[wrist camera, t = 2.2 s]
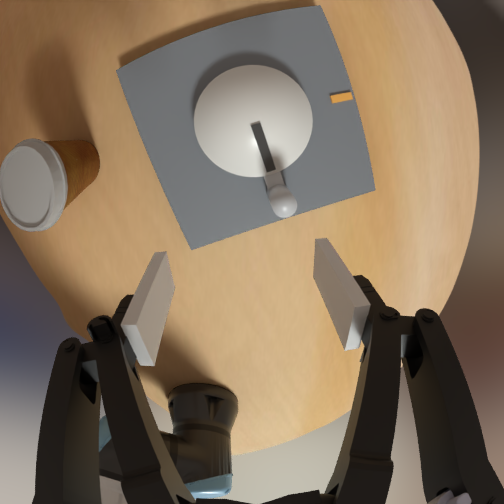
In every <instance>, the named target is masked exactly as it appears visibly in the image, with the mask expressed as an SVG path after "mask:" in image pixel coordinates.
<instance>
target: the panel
mask: <svg viewBox="0 0 504 504" xmlns="http://www.w3.org/2000/svg"><path fill="white" fill-rule="evenodd" d="M245 65H261V66H267V67H271V68H274V69H277V70H279V71H281V72H283V73H285V74H286V75H288V76H289V77H291V78H292V79H293V80H294V81H295V82H296V83H297V84H298V85H299V86H300V87H301V88H302V90H303V91H304V93H305V95H306V96H307V98H308V101H309V103H310V106H311V110H312V118H313V124H312V132H311V136H310V139H309V142H308V144H307V146H306V148H305V149H304V151H303V152H302V154H301V155H300V156H299V157H298V159H297V160H295V161H294V162H293V163H292V164H291V165H289V166H288V167H287V168H285V169H283V170H281V171H280V172H281V175H282V179H283V182H284V184H285V185H286V187H287V188H288V189H289V191H290V192H291V194H292V195H293V196H294V198H295V199H296V201H297V209H296V211H295V213H294V214H293V215H292V216H295V215H298V214H301V213H304V212H307V211H310V210H314V209H317V208H320V207H323V206H326V205H329V204H333V203H336V202H339V201H342V200H345V199H349V198H352V197H355V196H358V195H362V194H365V193H368V192H371V191H375V184H374V178H373V173H372V168H371V162H370V157H369V153H368V148H367V143H366V139H365V135H364V130H363V126H362V122H361V118H360V115H359V111H358V107H357V104H356V100H355V97H354V93H353V90H352V87H351V83H350V80H349V77H348V74H347V71H346V68H345V65H344V62H343V60H342V57H341V54H340V51H339V49H338V46H337V43H336V41H335V38H334V36H333V33H332V31H331V28H330V26H329V24H328V21H327V19H326V17H325V15H324V12H323V10H322V8H321V6H320V5H319V6H309V7H301V8H294V9H287V10H281V11H275V12H270V13H265V14H261V15H256V16H252V17H248V18H244V19H240V20H236V21H232V22H229V23H225V24H222V25H219V26H216V27H212V28H209V29H206V30H204V31H201V32H198V33H195V34H192V35H190V36H187V37H185V38H182V39H179V40H177V41H175V42H172V43H170V44H167V45H165V46H163V47H161V48H158V49H156V50H154V51H152V52H150V53H148V54H146V55H144V56H142V57H140V58H138V59H136V60H134V61H132V62H130V63H128V64H126V65H125V66H123V67H121V68H119V69H117V70H116V72H117V75H118V78H119V81H120V83H121V86H122V89H123V92H124V94H125V97H126V100H127V102H128V105H129V108H130V110H131V113H132V116H133V118H134V121H135V123H136V126H137V128H138V131H139V133H140V136H141V138H142V141H143V143H144V146H145V148H146V151H147V153H148V155H149V158H150V160H151V162H152V165H153V167H154V170H155V172H156V174H157V176H158V179H159V181H160V183H161V186H162V188H163V190H164V192H165V195H166V197H167V199H168V201H169V204H170V206H171V208H172V210H173V212H174V214H175V217H176V219H177V221H178V223H179V225H180V227H181V229H182V232H183V234H184V236H185V238H186V240H187V242H188V244H189V246H190V248H191V250H193V249H196V248H199V247H202V246H205V245H208V244H211V243H214V242H217V241H220V240H222V239H225V238H228V237H231V236H234V235H237V234H240V233H243V232H246V231H249V230H252V229H255V228H258V227H261V226H264V225H267V224H270V223H273V222H276V221H279V220H282V219H286V218H282V217H279V216H277V215H276V214H275V213H274V211H273V209H272V206H271V204H270V201H269V199H268V196H267V185H266V182H265V179H264V176H262V177H244V176H239V175H235V174H232V173H230V172H227V171H225V170H223V169H222V168H220V167H219V166H217V165H216V164H214V163H213V162H212V161H211V160H210V159H209V158H208V157H207V156H206V154H205V153H204V152H203V150H202V148H201V147H200V145H199V143H198V140H197V137H196V134H195V129H194V113H195V108H196V104H197V102H198V99H199V97H200V95H201V94H202V92H203V90H204V89H205V88H206V87H207V85H208V84H209V83H210V82H211V81H212V80H213V79H214V78H216V77H217V76H219V75H220V74H222V73H224V72H225V71H227V70H230V69H232V68H235V67H239V66H245ZM292 216H290V217H292ZM287 218H289V217H287Z"/></svg>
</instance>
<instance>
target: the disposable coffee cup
mask: <svg viewBox="0 0 504 504" xmlns="http://www.w3.org/2000/svg"><path fill="white" fill-rule="evenodd" d="M99 168H100V160H99V156H98V153H97V151H96V149H95V147H94V146H93V145H92V144H91V143H89V142H87V141H84V140H74V141H44V142H43V141H41V140H39V139H27V140H23V141H22V142H20V143H18V144H17V145H16V146H15V147H14V148H13V149H12V151H11V152H10V153H9V154H7V156H6V157H5V159H4V161H3V163H2V165H1V169H0V199H1V203H2V206H3V208H4V211H5V213H6V214H7V216H8V217H9V219H10V220H11V221H12V222H13V223H14V224H15V225H16V226H17V227H19V228H20V229H22V230H25V231H29V232H32V231H43V230H46V229H48V228H50V227H52V226H53V225H54V224H55V223H56V222H57V220H58V219H59V218H60V216H61V214H62V212H63V210H64V209H65V208H66V207H67V206H68V205H69V204H70V203H71V202H72V201H73V200H74V199H75V198H76V197H77V196H78V195H79V194H80V193H81V192H82V191H83V190H84V189H85V188H86V187H87V186H88V185H90V184H91V183H92V182H93V181H94V180H95V178H96V177H97V175H98V172H99Z"/></svg>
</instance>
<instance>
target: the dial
mask: <svg viewBox="0 0 504 504" xmlns="http://www.w3.org/2000/svg"><path fill="white" fill-rule="evenodd" d="M312 124H313V118H312V110H311V106H310V103H309V101H308V98H307V96H306V95H305V93H304V91H303V90H302V88H301V87H300V86H299V85H298V84H297V83H296V82H295V81H294V80H293V79H292V78H291V77H289V76H288V75H286V74H285V73H283V72H281V71H279V70H277V69H274V68H271V67H267V66H261V65H245V66H239V67H235V68H232V69H230V70H227V71H225V72H224V73H222V74H220V75H219V76H217V77H216V78H214V79H213V80H212V81H211V82H210V83H209V84H208V85H207V87H206V88H205V89H204V90H203V92H202V94H201V95H200V97H199V99H198V102H197V104H196V108H195V113H194V129H195V134H196V137H197V140H198V143H199V145H200V147H201V148H202V150H203V152H204V153H205V154H206V156H207V157H208V158H209V159H210V160H211V161H212V162H213V163H214V164H216V165H217V166H219V167H220V168H222V169H223V170H225V171H227V172H230V173H232V174H235V175H239V176H244V177H262V176H264V179H265V182H266V185H267V196H268V199H269V201H270V204H271V206H272V209H273V211H274V213H275V214H276V215H277V216H279V217H282V218H287V217H290V216H292V215H293V214H294V213H295V211H296V209H297V201H296V199H295V198H294V196H293V195H292V194H291V192H290V191H289V189H288V188H287V187H286V185H285V184H284V182H283V179H282V175H281V172H280V171H281V170H283V169H285V168H287V167H288V166H289V165H291V164H292V163H293V162H294V161H295V160H297V159H298V157H299V156H300V155H301V154H302V152H303V151H304V149H305V148H306V146H307V144H308V142H309V139H310V136H311V132H312Z"/></svg>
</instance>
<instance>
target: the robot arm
mask: <svg viewBox="0 0 504 504" xmlns="http://www.w3.org/2000/svg"><path fill="white" fill-rule="evenodd" d="M313 277H314V280H315V282H316V284H317V286H318V289H319V291H320V293H321V295H322V298H323V300H324V302H325V305H326V307H327V309H328V312H329V314H330V316H331V319H332V321H333V323H334V326H335V328H336V331H337V333H338V335H339V338H340V340H341V343H342V345H343V348H344V350H345V351H346V350H351V349H357V348H359V347H360V343H361V340H362V342H363V344H364V346H365V347H364V350H363V353H362V356H361V359H360V362H361V366H360V372H359V377H358V382H357V387H356V392H355V397H354V401H353V405H352V410H351V414H350V418H349V422H348V426H347V430H346V434H345V437H344V441H343V444H342V447H341V451H340V454H339V457H338V460H337V464H336V467H335V470H334V473H333V475H332V477H331V479H330V482H329V484H328V486H327V488H326V491H325V493H324V494H320V492H319V490H315V491H310V492H304V493H298V494H291V495H287V496H284V497H282V498H278V499H275V500H272V501H269V502H265V503H262V504H385V502H386V498H387V495H388V491H389V486H390V482H391V478H392V473H393V467H394V466H393V461H392V460H391V451H392V444H393V439H394V433H395V425H396V418H397V409H398V399H399V386H400V369H401V359H402V363H403V367H404V371H405V375H406V379H407V384H408V388H409V393H410V398H411V402H412V408H413V413H414V418H415V424H416V430H417V436H418V444H419V451H420V460H421V470H422V481H423V488H424V494H425V497H426V501H427V504H504V488H503V486H502V484H501V483H500V481H499V479H498V477H497V475H496V473H495V471H494V470H493V468H492V466H491V464H490V462H489V461H488V457H487V452H486V448H485V443H484V439H483V435H482V430H481V426H480V423H479V419H478V416H477V412H476V409H475V405H474V402H473V399H472V396H471V393H470V390H469V387H468V384H467V381H466V379H465V376H464V373H463V370H462V368H461V366H460V363H459V360H458V358H457V355H456V353H455V351H454V348H453V346H452V344H451V341H450V339H449V337H448V334H447V332H446V330H445V328H444V326H443V324H442V321H441V319H440V317H439V316H438V314H437V313H436V312H434V311H433V310H430V309H426V308H423V309H419V310H418V311H417V312H416V314H415V317H413V316H400V313H399V312H398V311H397V310H396V309H394V308H392V307H388V306H386V305H385V303H384V302H383V300H382V299H381V297H380V296H379V294H378V293H377V291H376V290H375V289H374V287H372V284H371V283H370V281H369V280H368V279H367V278H365V277H364V276H362V275H357V276H352V274H351V273H350V271H349V270H348V268H347V267H346V265H345V264H344V262H343V261H342V259H341V258H340V256H339V255H338V253H337V252H336V250H335V249H334V248H333V246H332V245H331V243H330V242H329V240H328V239H327V238H322V239H315V255H314V272H313ZM174 290H175V285H174V282H173V277H172V273H171V269H170V265H169V261H168V256H167V252H166V251H165V252H155V253H154V255H153V257H152V259H151V261H150V263H149V265H148V267H147V269H146V271H145V273H144V275H143V277H142V279H141V281H140V283H139V285H138V288H137V290H136V292H135V294H134V295H126V296H125V297H124V298H123V299H122V300H121V301H120V303H119V305H118V308H117V309H116V311H115V313H114V316H113V318H112V319H111V317H109V316H105V315H102V316H98V317H96V318H94V319H93V320H91V321H90V322H89V324H88V325H87V330H88V332H89V334H90V336H91V338H92V340H93V342H89V343H85V344H81V343H80V341H79V339H77V338H72V337H71V338H68V339H66V340H65V341H63V342H62V343H61V344H60V346H59V348H58V351H57V354H56V358H55V361H54V365H53V369H52V373H51V377H50V381H49V385H48V390H47V394H46V399H45V404H44V409H43V414H42V420H41V426H40V434H39V441H38V451H37V461H36V479H35V496H34V499H33V502H32V504H250V503H244V502H239V501H233V500H228V499H205V498H215V497H221V496H224V495H226V494H228V493H229V492H230V491H231V485H232V476H233V474H232V465H231V438H230V433H231V430H232V427H233V424H234V422H235V419H236V416H237V413H238V400H237V398H236V396H235V395H234V394H232V393H231V392H230V391H228V390H226V389H224V388H221V387H218V386H214V385H209V384H186V385H182V386H179V387H176V388H175V389H173V390H172V391H171V392H170V394H169V400H168V407H169V411H170V416H171V420H172V424H173V434H170V433H166V432H163V431H160V430H159V429H158V427H157V424H156V422H155V420H154V417H153V414H152V412H151V409H150V407H149V404H148V401H147V398H146V395H145V392H144V389H143V386H142V383H141V380H140V377H139V374H138V371H137V369H136V367H135V362H136V358H137V360H138V362H139V364H140V366H155V362H156V358H157V354H158V350H159V346H160V342H161V338H162V334H163V330H164V326H165V323H166V319H167V315H168V312H169V308H170V304H171V301H172V297H173V294H174ZM101 394H102V400H103V405H104V409H105V413H106V415H105V416H103V417H102V418H101V419H100V421H99V418H100V401H101ZM195 499H196V500H195Z"/></svg>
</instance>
